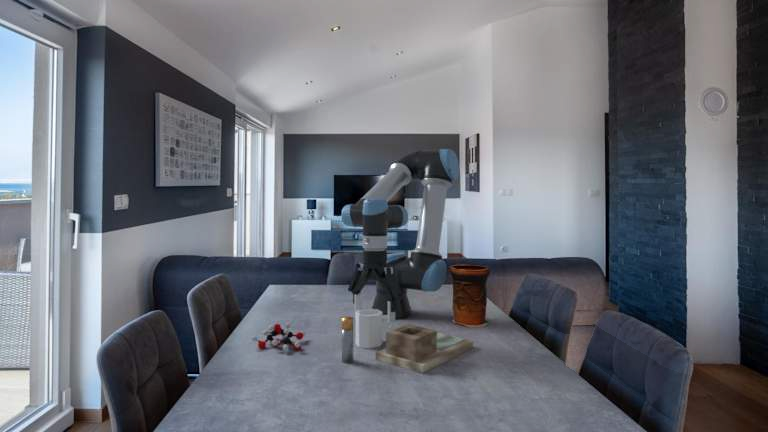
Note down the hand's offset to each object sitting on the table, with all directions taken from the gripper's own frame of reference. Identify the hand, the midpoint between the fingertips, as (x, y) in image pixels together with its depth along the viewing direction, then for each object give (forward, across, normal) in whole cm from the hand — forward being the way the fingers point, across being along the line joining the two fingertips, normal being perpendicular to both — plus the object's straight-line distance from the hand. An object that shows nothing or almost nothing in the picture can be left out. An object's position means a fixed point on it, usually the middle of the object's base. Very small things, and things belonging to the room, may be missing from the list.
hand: (374, 318), depth 142 cm
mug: (+8, 0, +1) cm, 8 cm away
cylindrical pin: (+8, +4, -15) cm, 18 cm away
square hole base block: (+8, +17, +4) cm, 19 cm away
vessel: (+7, +10, +41) cm, 42 cm away
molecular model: (+9, -20, -19) cm, 29 cm away
